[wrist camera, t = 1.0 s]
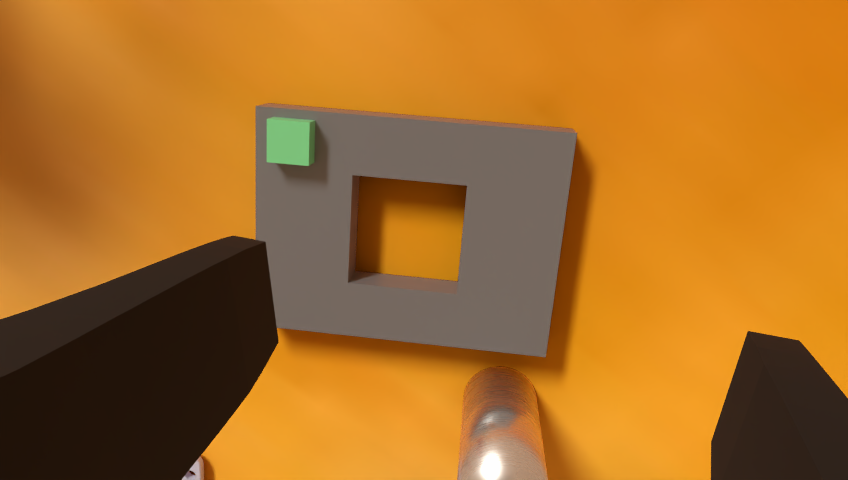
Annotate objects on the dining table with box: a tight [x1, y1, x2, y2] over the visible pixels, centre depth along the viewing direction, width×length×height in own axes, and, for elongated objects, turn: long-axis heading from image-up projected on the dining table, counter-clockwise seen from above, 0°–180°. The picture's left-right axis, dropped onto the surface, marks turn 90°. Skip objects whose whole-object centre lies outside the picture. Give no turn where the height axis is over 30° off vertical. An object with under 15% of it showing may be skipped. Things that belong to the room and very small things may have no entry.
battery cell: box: [457, 367, 548, 480], centre depth 25 cm, size 3×3×8 cm
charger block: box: [256, 103, 577, 357], centre depth 25 cm, size 9×12×2 cm
